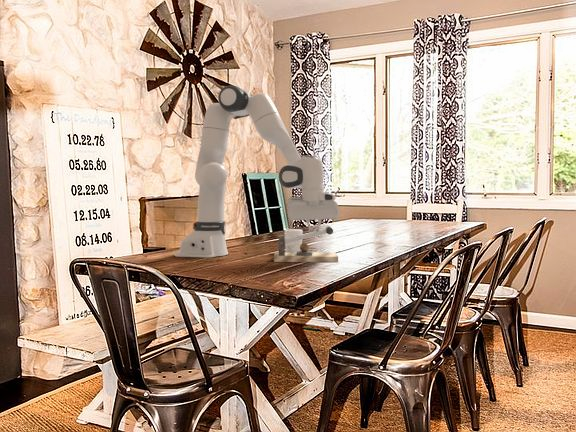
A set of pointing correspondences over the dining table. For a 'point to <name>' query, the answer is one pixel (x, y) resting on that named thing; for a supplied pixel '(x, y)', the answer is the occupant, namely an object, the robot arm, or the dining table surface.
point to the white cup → (293, 245)
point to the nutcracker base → (302, 254)
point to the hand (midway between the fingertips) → (314, 230)
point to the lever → (309, 235)
